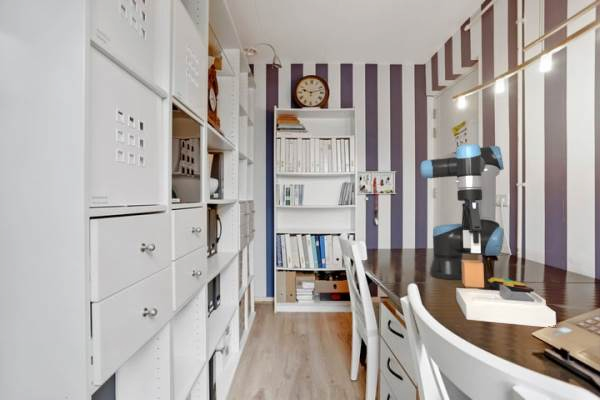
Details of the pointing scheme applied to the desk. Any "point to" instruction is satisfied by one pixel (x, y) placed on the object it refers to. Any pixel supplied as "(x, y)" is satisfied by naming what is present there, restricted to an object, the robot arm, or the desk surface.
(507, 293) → the shutter
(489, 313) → the socket
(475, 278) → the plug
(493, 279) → the gadget
